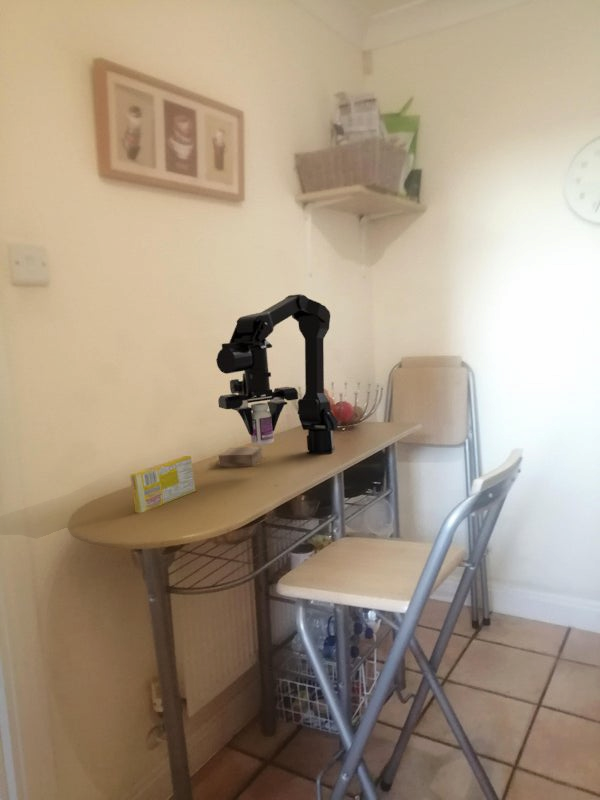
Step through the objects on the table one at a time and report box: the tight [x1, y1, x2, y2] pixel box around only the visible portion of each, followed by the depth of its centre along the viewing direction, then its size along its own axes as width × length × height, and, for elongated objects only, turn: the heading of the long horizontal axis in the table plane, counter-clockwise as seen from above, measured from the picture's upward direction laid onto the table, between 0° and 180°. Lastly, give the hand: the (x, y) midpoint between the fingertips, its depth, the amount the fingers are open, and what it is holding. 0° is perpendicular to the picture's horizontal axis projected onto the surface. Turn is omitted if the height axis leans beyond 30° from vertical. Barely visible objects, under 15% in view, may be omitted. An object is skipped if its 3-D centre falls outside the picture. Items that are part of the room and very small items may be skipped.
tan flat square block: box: [218, 446, 263, 468], centre depth 164 cm, size 9×9×3 cm
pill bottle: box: [250, 402, 274, 446], centre depth 148 cm, size 5×5×10 cm
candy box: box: [129, 455, 197, 514], centre depth 132 cm, size 16×2×8 cm, turn 146°
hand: (261, 433), depth 149 cm, fingers closed on pill bottle, 5 cm apart
